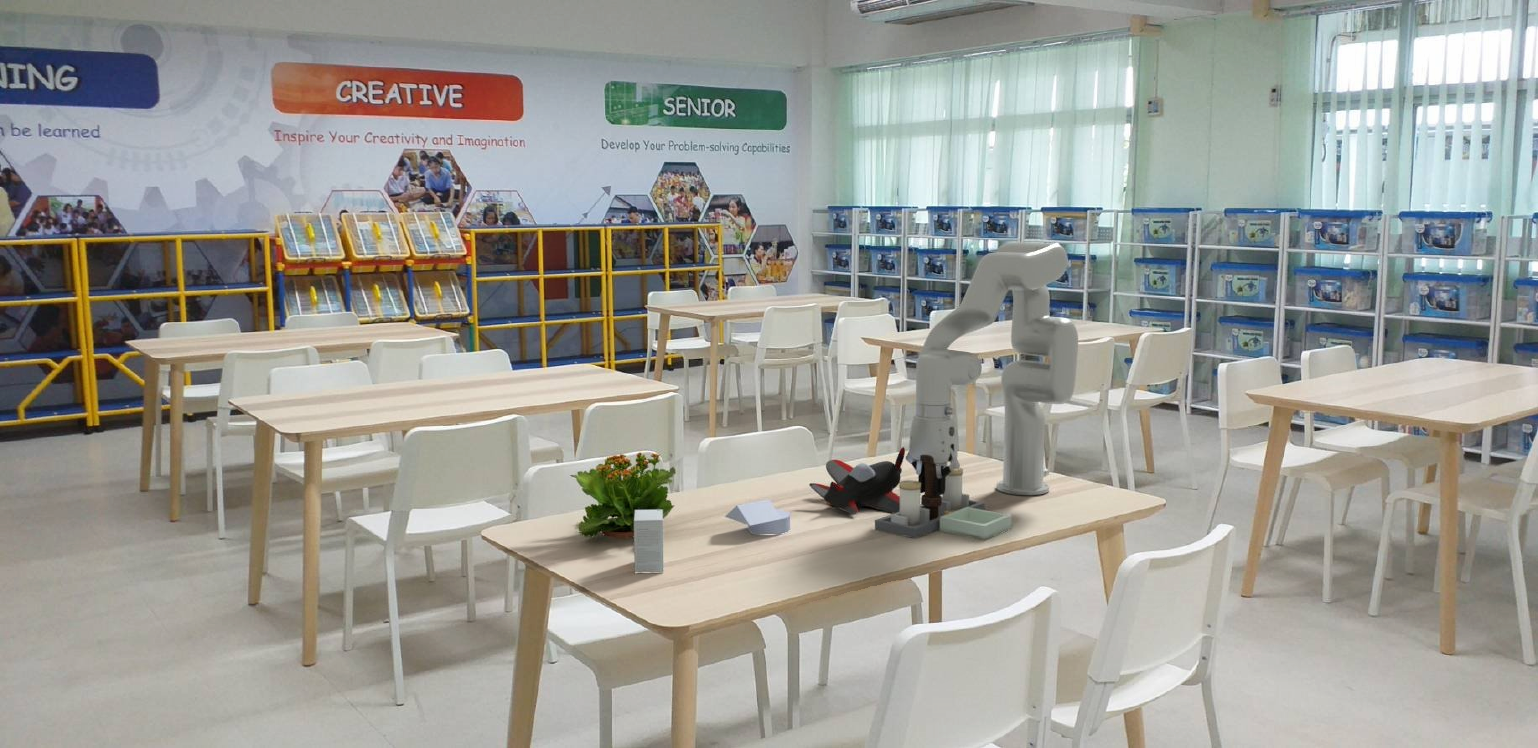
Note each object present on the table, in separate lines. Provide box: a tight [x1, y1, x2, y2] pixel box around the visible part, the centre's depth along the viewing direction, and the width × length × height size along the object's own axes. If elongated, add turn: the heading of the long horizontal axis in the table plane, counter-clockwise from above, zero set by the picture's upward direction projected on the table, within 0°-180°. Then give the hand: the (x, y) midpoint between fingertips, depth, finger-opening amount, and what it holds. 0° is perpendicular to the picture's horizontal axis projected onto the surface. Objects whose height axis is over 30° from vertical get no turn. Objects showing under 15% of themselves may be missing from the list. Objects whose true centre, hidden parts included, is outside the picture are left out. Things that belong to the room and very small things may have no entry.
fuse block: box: [874, 493, 986, 539], centre depth 259 cm, size 11×28×4 cm, turn 139°
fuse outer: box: [898, 479, 921, 527], centre depth 252 cm, size 5×5×10 cm
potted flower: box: [569, 451, 677, 539], centre depth 250 cm, size 25×24×18 cm
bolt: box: [920, 455, 942, 521], centre depth 258 cm, size 6×5×15 cm
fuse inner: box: [941, 467, 964, 512], centre depth 265 cm, size 5×5×10 cm
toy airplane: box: [808, 447, 906, 515], centre depth 273 cm, size 28×24×15 cm
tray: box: [939, 507, 1012, 541], centre depth 251 cm, size 11×11×3 cm
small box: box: [633, 510, 664, 573], centre depth 226 cm, size 8×6×10 cm
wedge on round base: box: [724, 498, 791, 535], centre depth 251 cm, size 9×7×13 cm
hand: (931, 492), depth 258 cm, fingers closed on bolt, 3 cm apart
